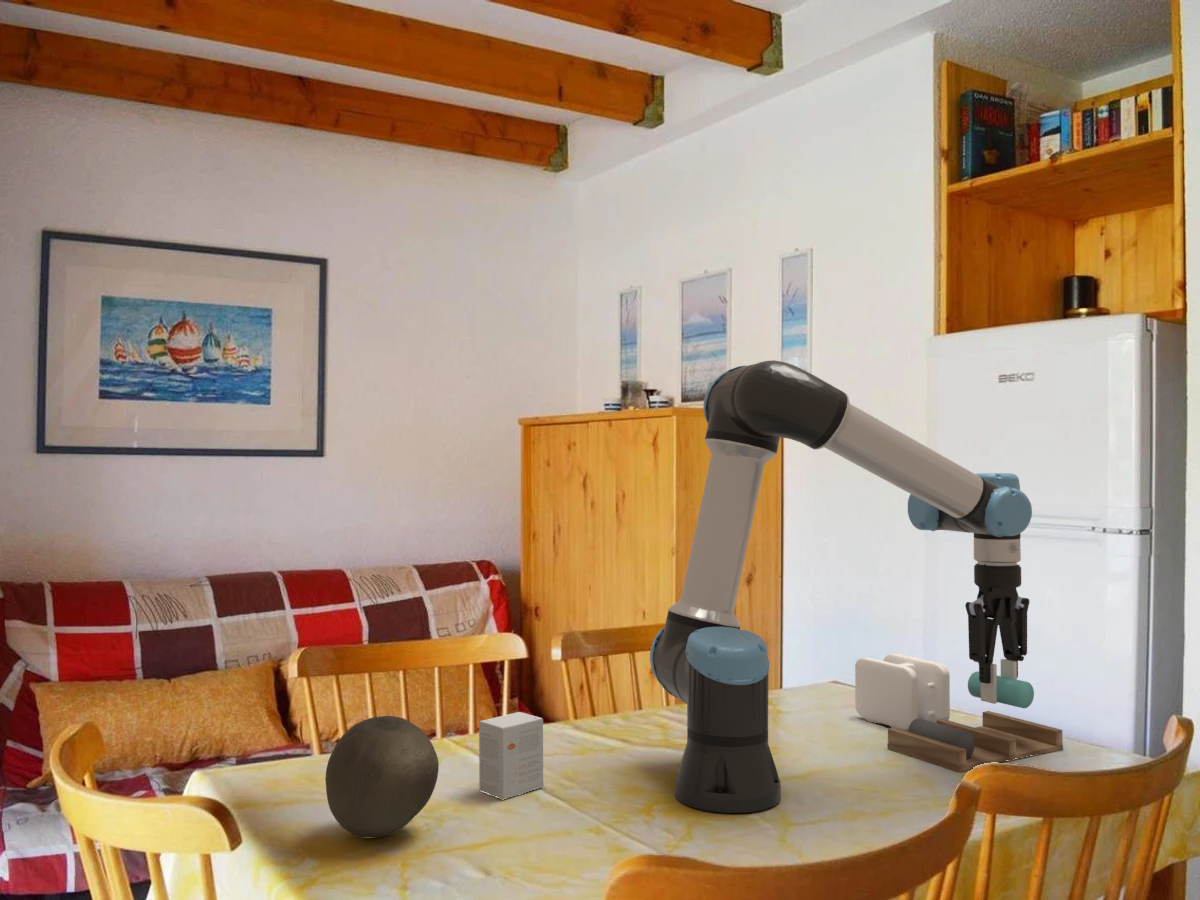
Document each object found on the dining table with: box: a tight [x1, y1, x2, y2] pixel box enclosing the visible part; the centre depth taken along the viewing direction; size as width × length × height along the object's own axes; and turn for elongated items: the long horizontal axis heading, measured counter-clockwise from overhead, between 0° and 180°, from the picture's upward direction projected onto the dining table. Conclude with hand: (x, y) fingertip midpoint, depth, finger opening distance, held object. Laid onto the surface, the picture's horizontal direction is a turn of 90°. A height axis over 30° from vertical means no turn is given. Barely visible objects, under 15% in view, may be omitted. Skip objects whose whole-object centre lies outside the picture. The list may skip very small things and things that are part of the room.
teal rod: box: [967, 670, 1035, 709], centre depth 174 cm, size 10×4×4 cm, turn 29°
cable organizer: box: [854, 653, 951, 731], centre depth 189 cm, size 15×11×12 cm
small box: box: [478, 711, 544, 799], centre depth 150 cm, size 8×6×10 cm
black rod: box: [907, 718, 975, 760], centre depth 166 cm, size 10×4×4 cm
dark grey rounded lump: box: [324, 715, 440, 838], centre depth 132 cm, size 14×14×15 cm
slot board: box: [886, 710, 1064, 773], centre depth 171 cm, size 25×15×3 cm, turn 119°
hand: (998, 699), depth 174 cm, fingers closed on teal rod, 4 cm apart
